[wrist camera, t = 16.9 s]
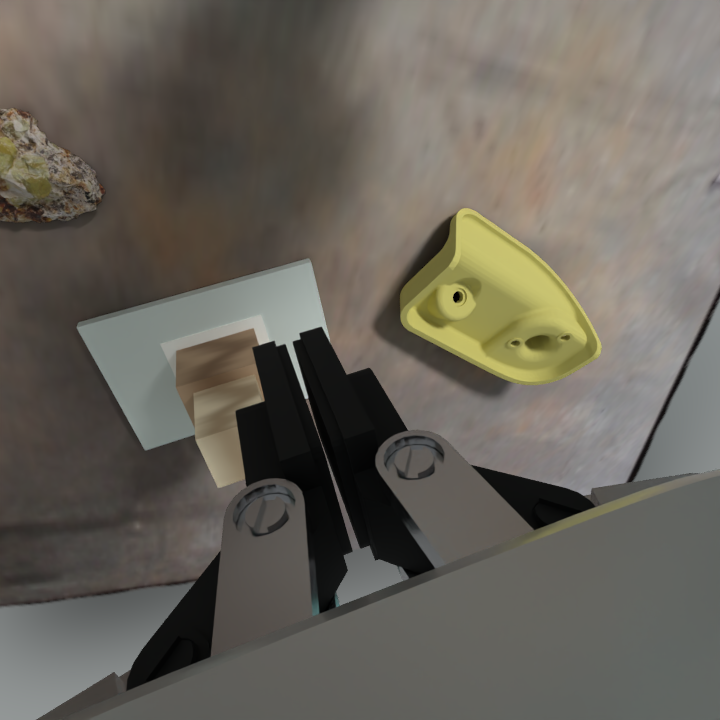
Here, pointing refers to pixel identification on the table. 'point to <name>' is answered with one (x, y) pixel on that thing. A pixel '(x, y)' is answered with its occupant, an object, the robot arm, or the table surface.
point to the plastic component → (498, 306)
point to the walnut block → (215, 365)
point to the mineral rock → (41, 175)
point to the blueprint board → (195, 340)
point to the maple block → (223, 426)
